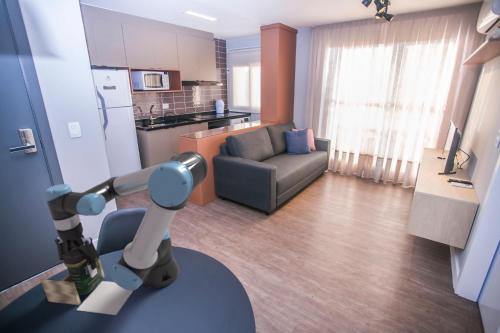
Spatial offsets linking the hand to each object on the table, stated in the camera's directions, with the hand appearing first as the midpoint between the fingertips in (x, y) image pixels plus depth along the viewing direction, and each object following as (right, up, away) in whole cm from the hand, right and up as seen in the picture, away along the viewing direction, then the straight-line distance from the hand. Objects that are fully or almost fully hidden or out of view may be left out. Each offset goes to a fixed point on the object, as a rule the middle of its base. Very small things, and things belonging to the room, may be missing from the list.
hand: (84, 274), depth 98 cm
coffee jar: (0, -6, +2) cm, 6 cm away
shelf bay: (-5, -7, +3) cm, 9 cm away
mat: (+10, -9, -1) cm, 13 cm away
